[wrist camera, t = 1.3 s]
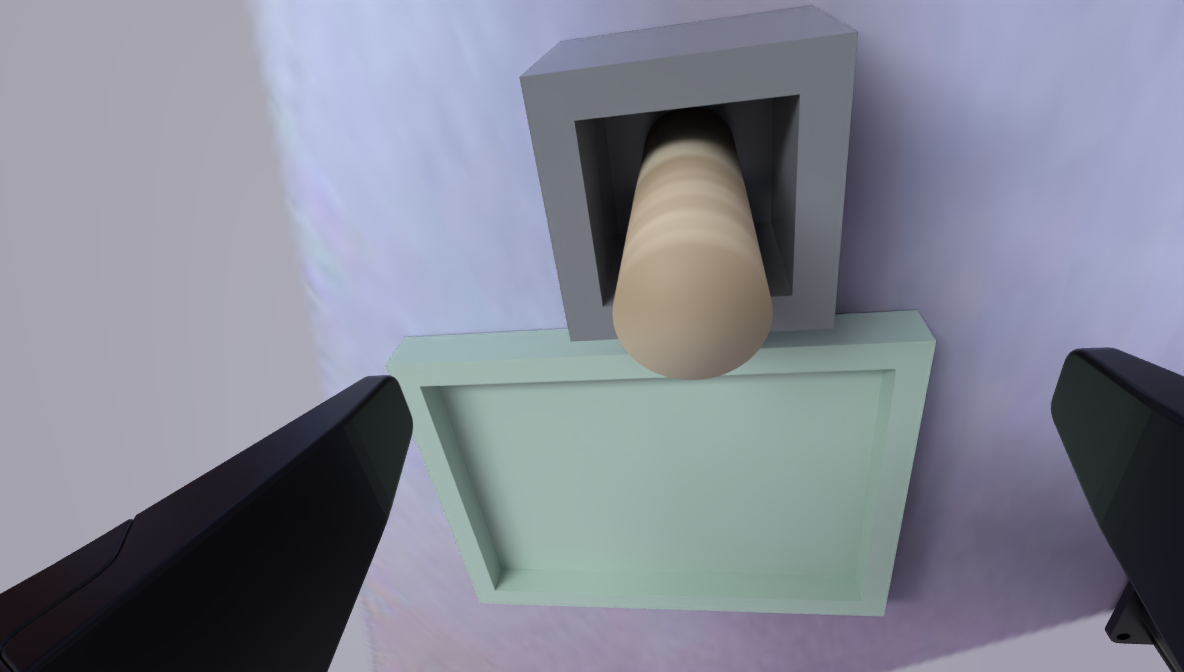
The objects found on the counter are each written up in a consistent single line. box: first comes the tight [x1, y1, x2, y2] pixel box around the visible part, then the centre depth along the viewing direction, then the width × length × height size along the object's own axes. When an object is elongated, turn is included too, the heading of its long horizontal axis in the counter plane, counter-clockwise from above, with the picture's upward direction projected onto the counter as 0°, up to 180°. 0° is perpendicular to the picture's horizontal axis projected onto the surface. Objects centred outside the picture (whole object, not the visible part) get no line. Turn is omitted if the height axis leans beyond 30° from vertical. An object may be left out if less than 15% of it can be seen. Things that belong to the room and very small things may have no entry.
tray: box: [385, 310, 936, 616], centre depth 24 cm, size 14×18×2 cm
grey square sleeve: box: [520, 5, 858, 342], centre depth 16 cm, size 7×7×5 cm
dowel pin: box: [612, 107, 773, 380], centre depth 14 cm, size 3×3×9 cm
